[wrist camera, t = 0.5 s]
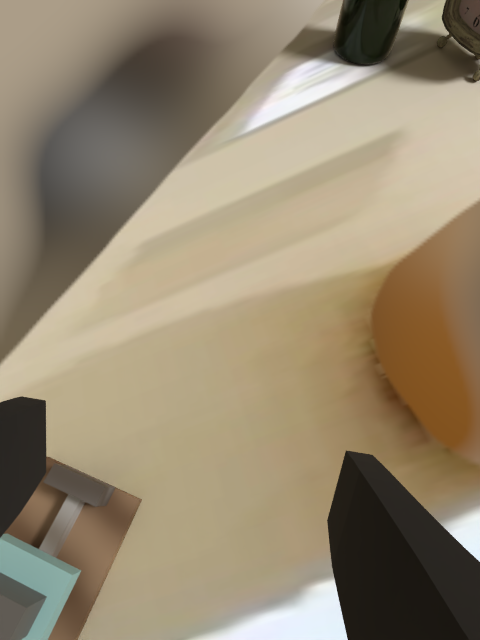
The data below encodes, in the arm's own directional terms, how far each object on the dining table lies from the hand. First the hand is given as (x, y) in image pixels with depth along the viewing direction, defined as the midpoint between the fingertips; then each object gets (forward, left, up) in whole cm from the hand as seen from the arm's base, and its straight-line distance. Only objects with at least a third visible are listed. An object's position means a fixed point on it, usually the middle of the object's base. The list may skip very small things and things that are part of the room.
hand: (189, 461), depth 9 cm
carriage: (-13, +11, -26) cm, 31 cm away
